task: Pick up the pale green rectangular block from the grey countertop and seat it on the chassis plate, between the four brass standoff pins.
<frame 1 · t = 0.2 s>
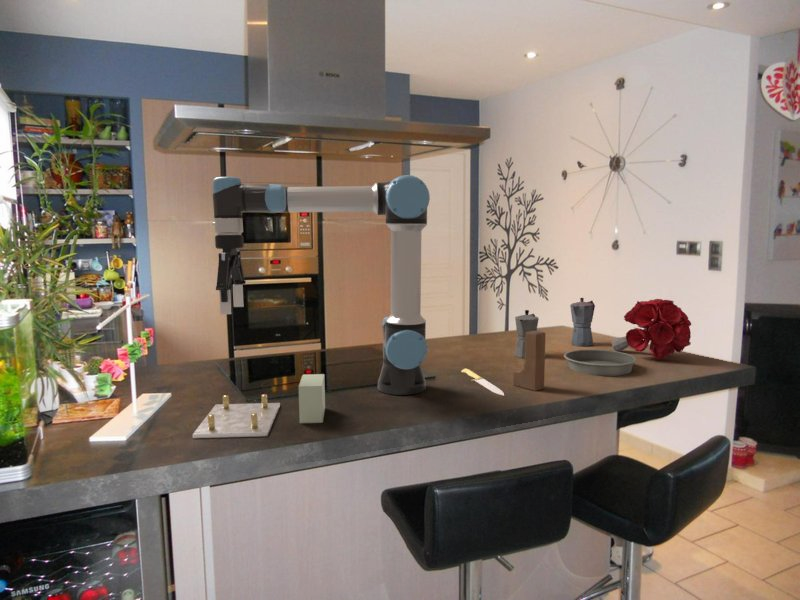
hand: (232, 310, 168), 28 cm above the countertop, fingers open, 13 cm apart
chassis plate: (239, 421, 158), on the countertop
knife: (480, 384, 195), on the countertop
moka pot: (582, 344, 253), on the countertop
bouquet: (649, 357, 229), on the countertop
coffeepot: (526, 355, 233), on the countertop
wooden block: (528, 387, 189), on the countertop
pale green rectangular block: (312, 415, 163), on the countertop
cake pan: (599, 369, 213), on the countertop
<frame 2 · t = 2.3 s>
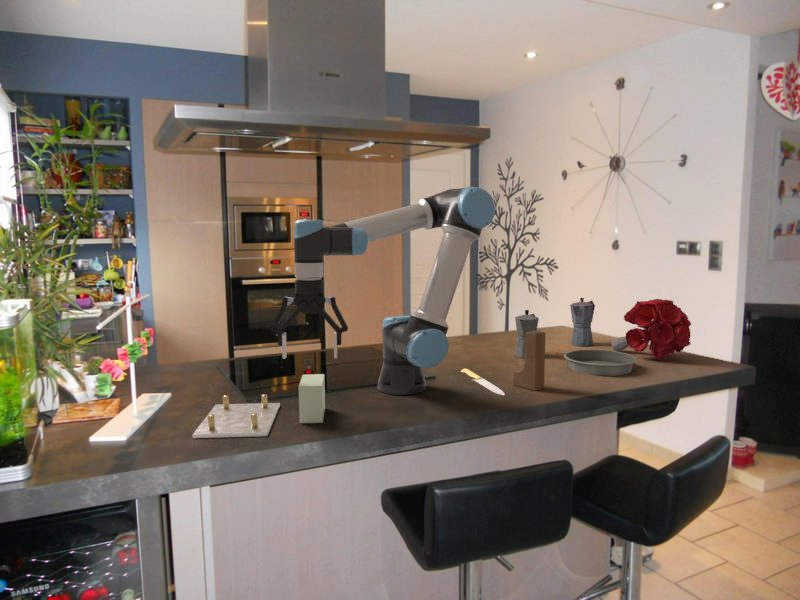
hand: (310, 357, 160), 16 cm above the countertop, fingers open, 13 cm apart
nothing on the countertop moved.
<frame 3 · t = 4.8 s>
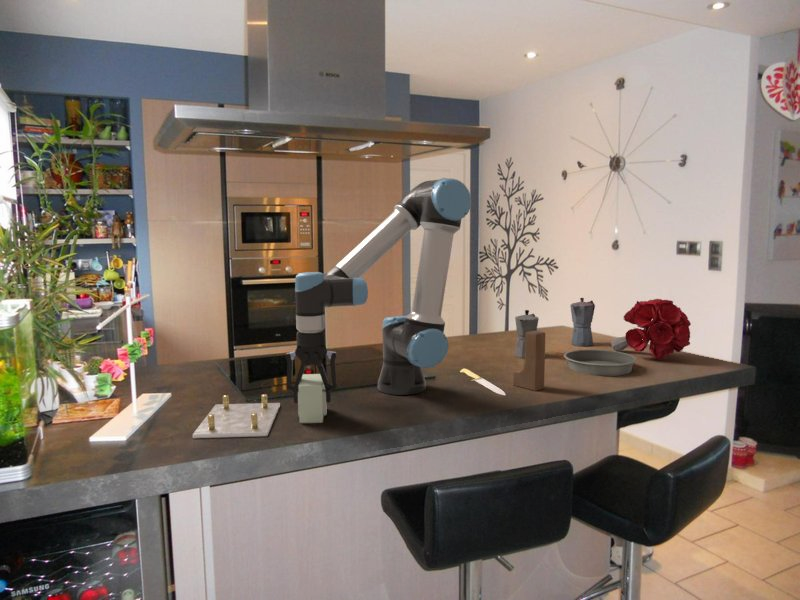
hand: (312, 413, 162), 0 cm above the countertop, fingers closed on pale green rectangular block, 6 cm apart
pale green rectangular block: (312, 415, 163), on the countertop, touching gripper
everything else where it was.
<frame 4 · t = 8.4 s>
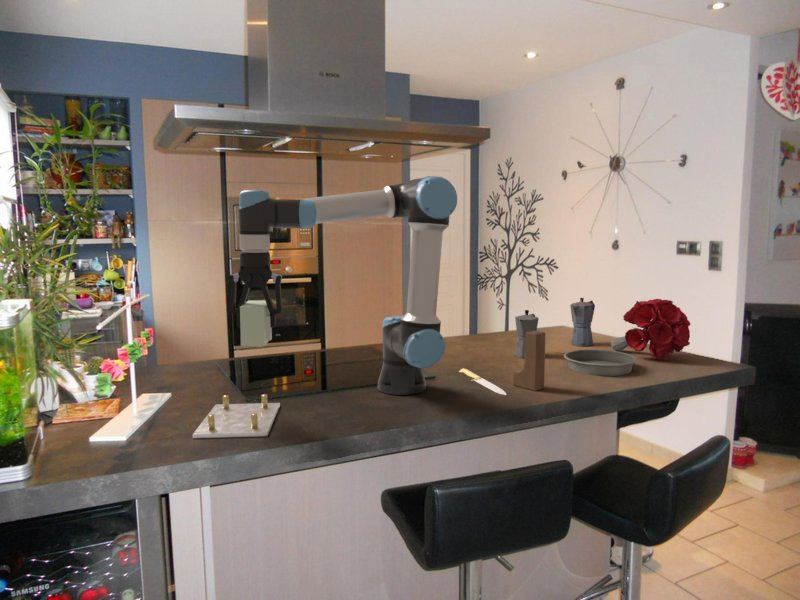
hand: (256, 339, 156), 22 cm above the countertop, fingers closed on pale green rectangular block, 6 cm apart
pale green rectangular block: (256, 341, 156), point 21 cm above the countertop, touching gripper
everything else where it was.
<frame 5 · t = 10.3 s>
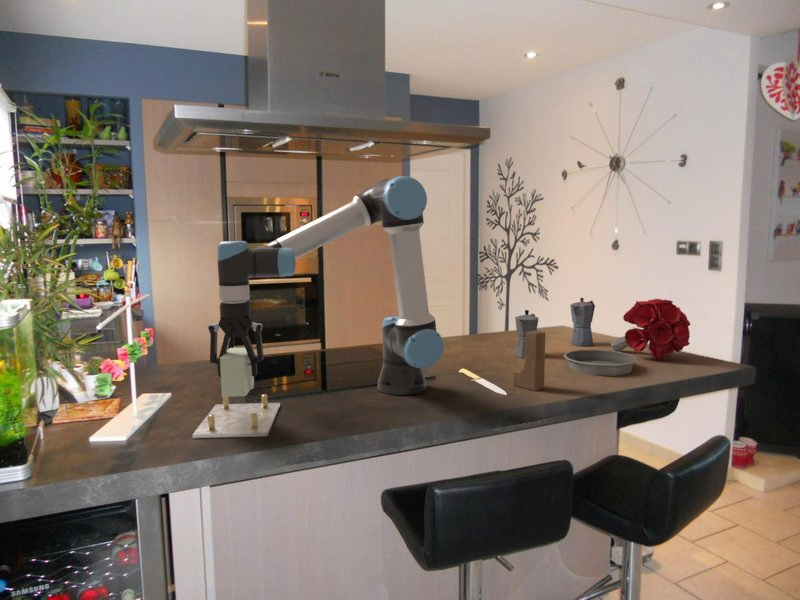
hand: (238, 388, 157), 9 cm above the countertop, fingers closed on pale green rectangular block, 6 cm apart
pale green rectangular block: (238, 389, 157), point 9 cm above the countertop, touching gripper
everything else where it was.
when the fingers open (3 cm above the countertop, at t = 12.0 s): pale green rectangular block drops 1 cm, resting on chassis plate.
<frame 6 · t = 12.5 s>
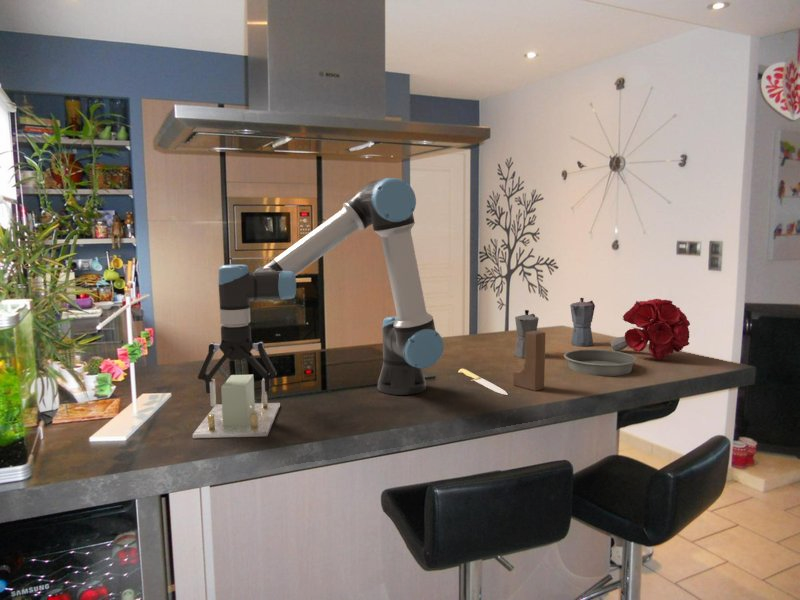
hand: (239, 404, 158), 5 cm above the countertop, fingers open, 13 cm apart
pale green rectangular block: (239, 417, 158), point 1 cm above the countertop, touching chassis plate
everything else where it was.
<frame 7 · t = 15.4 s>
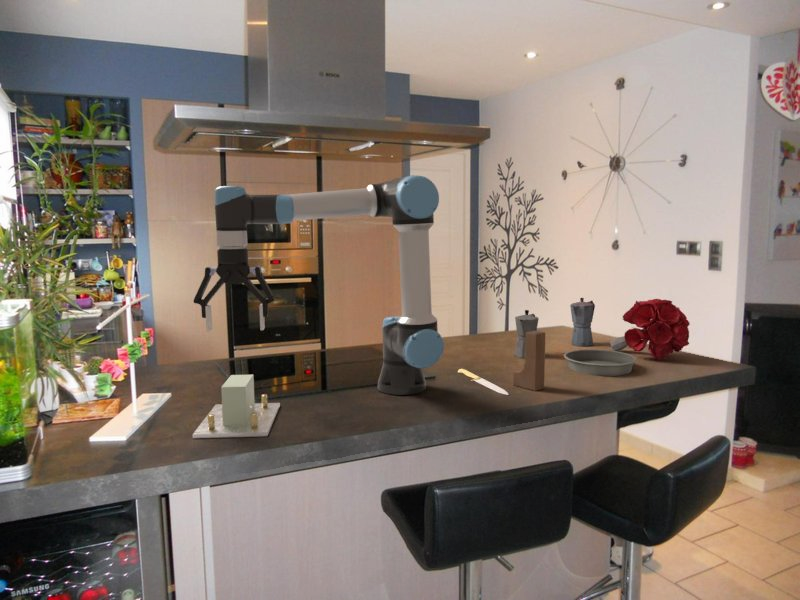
hand: (236, 330, 155), 25 cm above the countertop, fingers open, 13 cm apart
nothing on the countertop moved.
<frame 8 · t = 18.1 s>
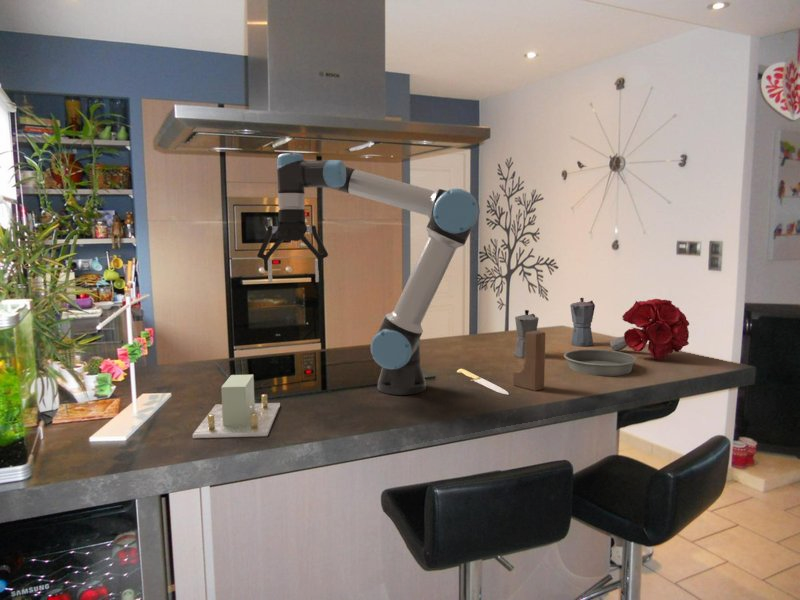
hand: (293, 282, 175), 35 cm above the countertop, fingers open, 13 cm apart
nothing on the countertop moved.
at the end: pale green rectangular block 0.0 cm off-centre on the chassis plate, point 1.0 cm above the chassis plate's base; pale green rectangular block tilted 0°; the gripper is holding nothing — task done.
